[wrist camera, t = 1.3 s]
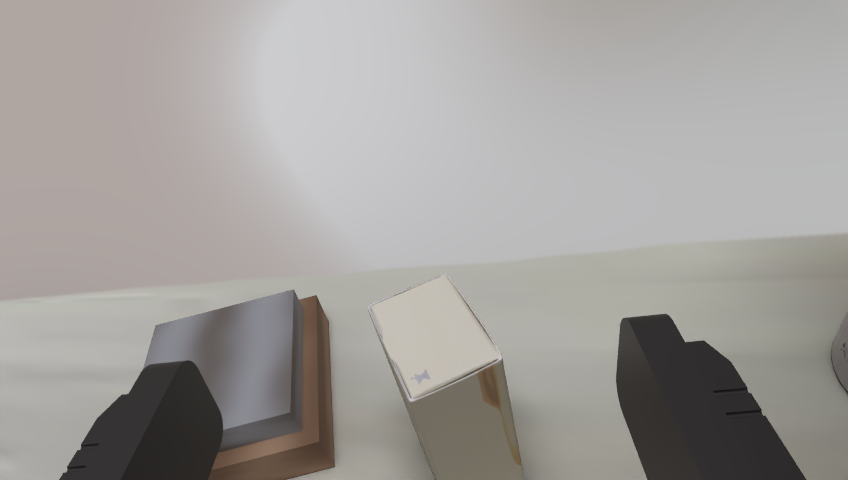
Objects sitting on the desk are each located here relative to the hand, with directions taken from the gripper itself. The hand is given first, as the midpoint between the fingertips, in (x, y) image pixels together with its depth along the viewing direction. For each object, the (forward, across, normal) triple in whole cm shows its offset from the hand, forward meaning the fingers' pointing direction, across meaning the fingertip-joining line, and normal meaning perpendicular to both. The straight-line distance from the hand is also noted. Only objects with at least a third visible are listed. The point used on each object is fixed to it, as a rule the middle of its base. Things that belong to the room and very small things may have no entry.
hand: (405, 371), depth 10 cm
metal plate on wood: (+18, +15, +21) cm, 31 cm away
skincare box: (+12, 0, +21) cm, 24 cm away
